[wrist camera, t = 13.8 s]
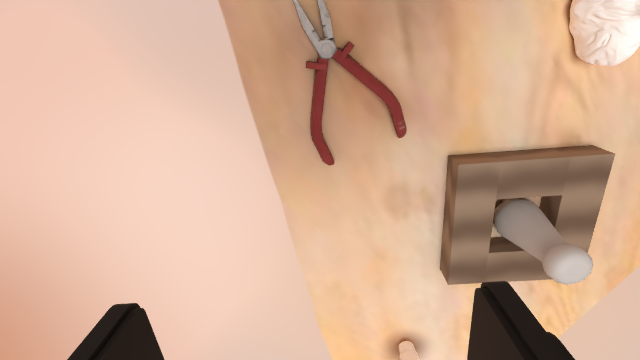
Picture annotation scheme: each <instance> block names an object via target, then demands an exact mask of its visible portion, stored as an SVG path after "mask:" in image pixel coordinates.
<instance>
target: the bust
mask: <svg viewBox="0 0 640 360" xmlns="http://www.w3.org/2000/svg"><path fill="white" fill-rule="evenodd" d="M569 29H570V32H571V34H572V36H573V38H574V44H575V51H576V54H577V56H578V57H579V58H580V59H581V60H583V61H585V62H587V63H591V64H596V65H608V66H615V65H617V64H619V63H621V62H623V61H624V60H626V59H627V58H629V57H630V56H631V55H632V54H633V53H634V52H635V51H636V50H637V49H638V47H639V46H640V0H573V1H572V4H571V8H570V24H569Z"/></svg>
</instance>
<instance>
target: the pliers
mask: <svg viewBox="0 0 640 360" xmlns="http://www.w3.org/2000/svg"><path fill="white" fill-rule="evenodd" d="M293 2H294V5H295V7H296V10H297V13H298V16H299V18H300V21H301V24H302V27H303V29H304V30H305V32H306V34H307V35H308V37H309V39H310V40H311V42H312V44H313V45H314V47H315V48H316V50H317V52H318V53H319V56H320V58H318V59H317V62H310V61H307V62H306V68H310V69H316V71H315V81H314V91H313V101H312V111H311V136H312V140H313V142H314V144H315V146H316V148H317V150H318V152H319V154H320V156H321V158H322V160H323V162H324V163H326V164H327V165H333V164H334V159H333V157H332V155H331V153H330V151H329V148H328V146H327V144H326V142H325V140H324V137H323V133H322V125H321V121H322V111H323V103H324V94H325V85H326V76H327V68H328V58H331V57H333V58H334V59H335V60H336V61H337V62H338V63H340V64H341V65H342V66H343V67H344V68H346V69H347V70H348V71H349V72H350V73H352V74H353V75H354V76H355V77H356V78H358V79H359V80H360V81H361V82H362V83H364V84H365V85H366V86H367V87H368V88H369V89H371V90H372V91H373V92H374V93H375V94H377V95H378V96H379V97H380V98H381V99H382V100H383V101H384V102H385V104H386V105H387V107H388V109H389V111H390V114H391V117H392V121H393V124H394V127H395V130H396V133H397V136H398V138H402V137H403V136H404V135H405V134H406V124H405V121H404V117H403V113H402V110H401V106H400V103H399V102H398V100H397V98H396V97H395V96H394V94H393V93H392V92H391V91H390V90H389V89H388V88H387V87H386V86H385V85H384V84H383V83H381V82H380V81H379V80H378V79H377V78H375V77H374V76H373V75H372V74H371V73H370V72H368V71H367V70H366V69H365V68H364V67H363V66H361V65H360V64H359V63H358V62H357V61H355V60H354V59H353V58H352V57H351V56H350V55H348V53H349V52H350V51H351V49H352V48H353V46H354V45H353V44H352V43H350V42H348V44H347V45H346V46H345V48H344V49H343V50H341V49H340V48H338V49H337V48H336V46H335V42H334V36H333V30H332V25H331V19H330V14H329V12H328V9H327V7H326V4H325V2H324V0H318V4H319V10H320V15H321V21H322V26H323V31H324V36H325V40H323V41H322V40H321V39H320V38H319V36H318V34H317V33H316V31H315V29H314V27H313V26H312V24H311V22H310V21H309V19H308V18H307V16H306V14H305V13H304V11H303V9H302V8H301V6H300V4H299V3H298V1H297V0H293Z"/></svg>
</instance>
